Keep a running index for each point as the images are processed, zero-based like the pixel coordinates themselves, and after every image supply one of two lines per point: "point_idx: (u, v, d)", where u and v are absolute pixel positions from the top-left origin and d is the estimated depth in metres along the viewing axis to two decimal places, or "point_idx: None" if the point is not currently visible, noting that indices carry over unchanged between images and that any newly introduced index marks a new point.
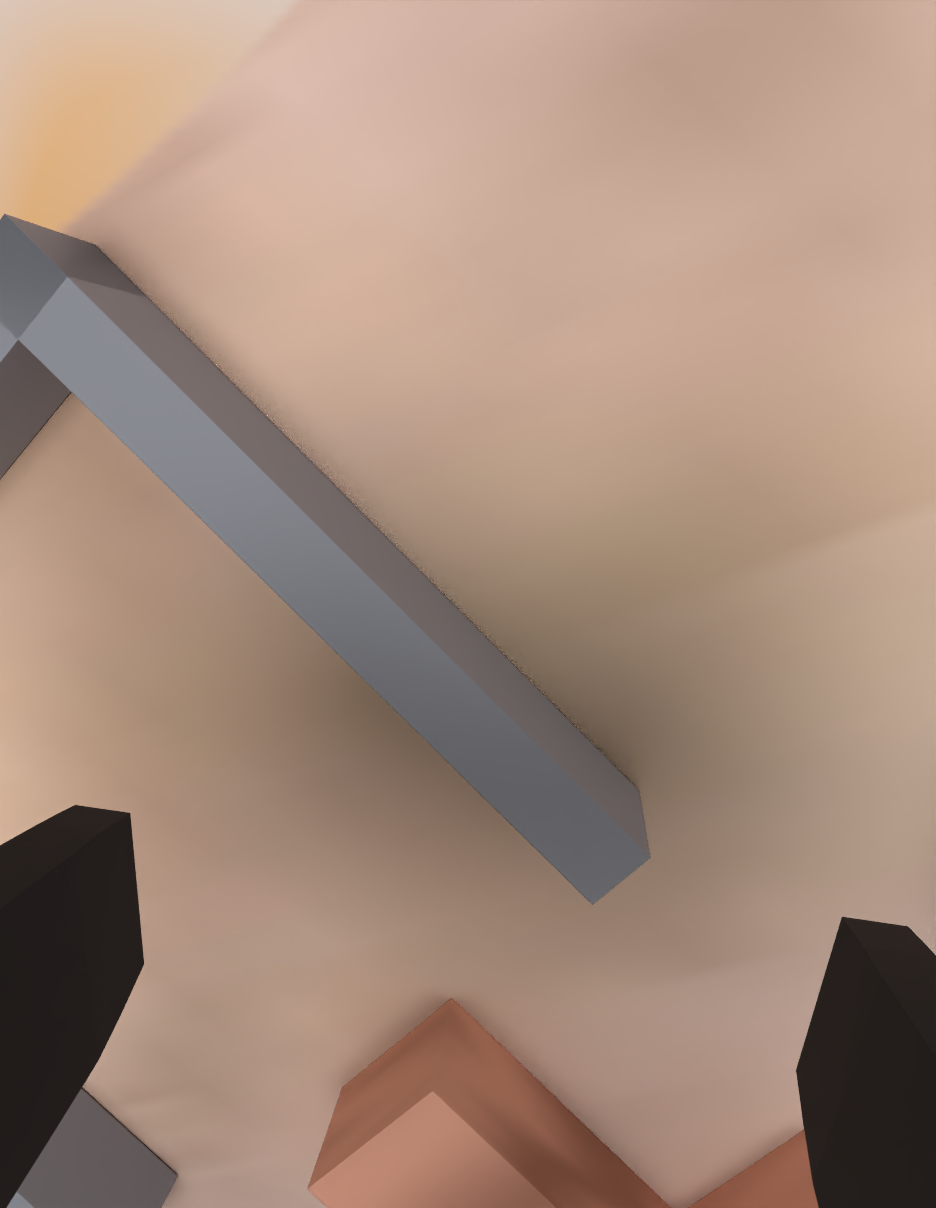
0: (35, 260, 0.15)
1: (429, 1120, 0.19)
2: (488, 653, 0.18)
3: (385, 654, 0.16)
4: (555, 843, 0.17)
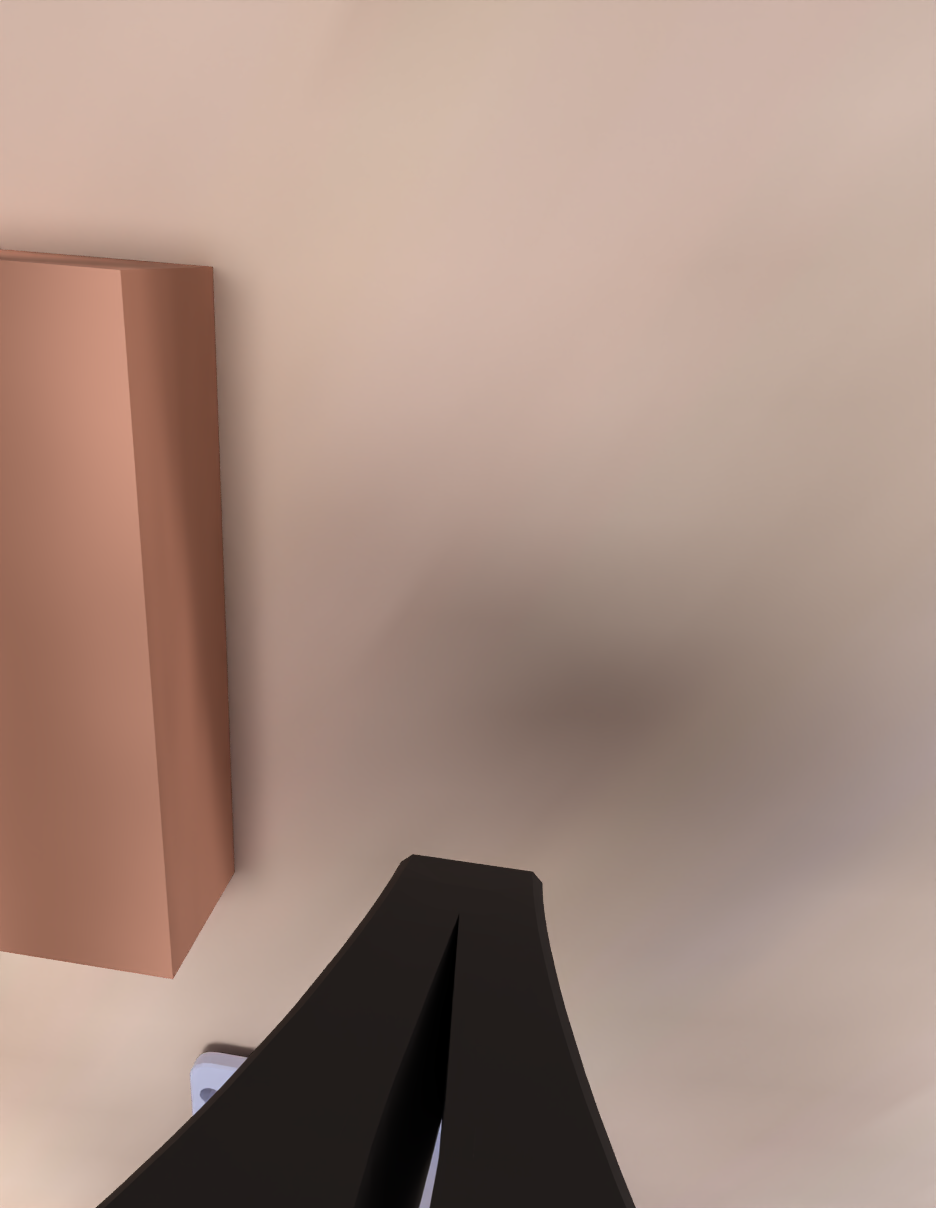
0: None
1: None
2: None
3: None
4: None
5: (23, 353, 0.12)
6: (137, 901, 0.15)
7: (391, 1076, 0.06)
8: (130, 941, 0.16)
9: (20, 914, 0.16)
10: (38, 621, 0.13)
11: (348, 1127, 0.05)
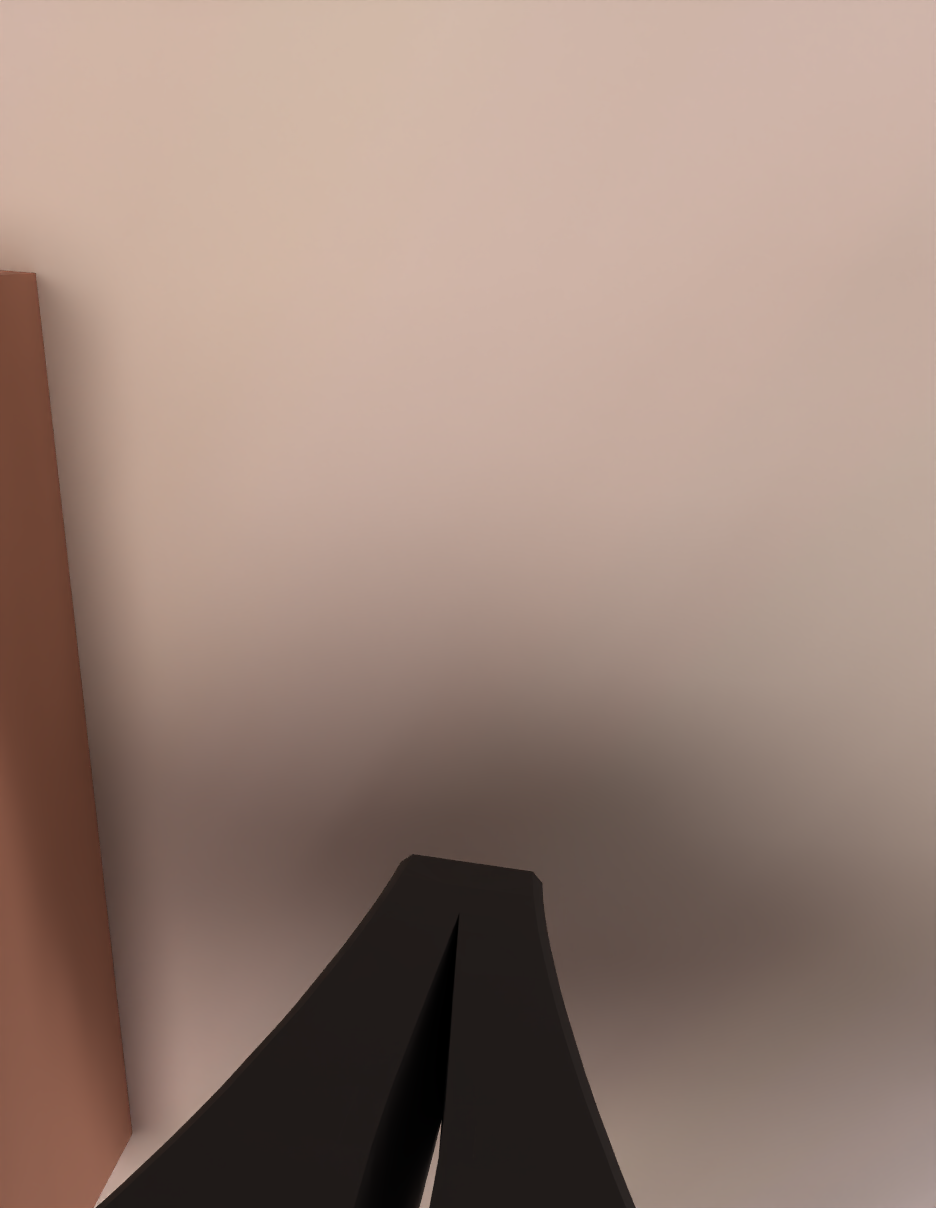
0: None
1: None
2: None
3: None
4: None
5: None
6: None
7: (391, 1076, 0.06)
8: None
9: None
10: None
11: (348, 1127, 0.05)
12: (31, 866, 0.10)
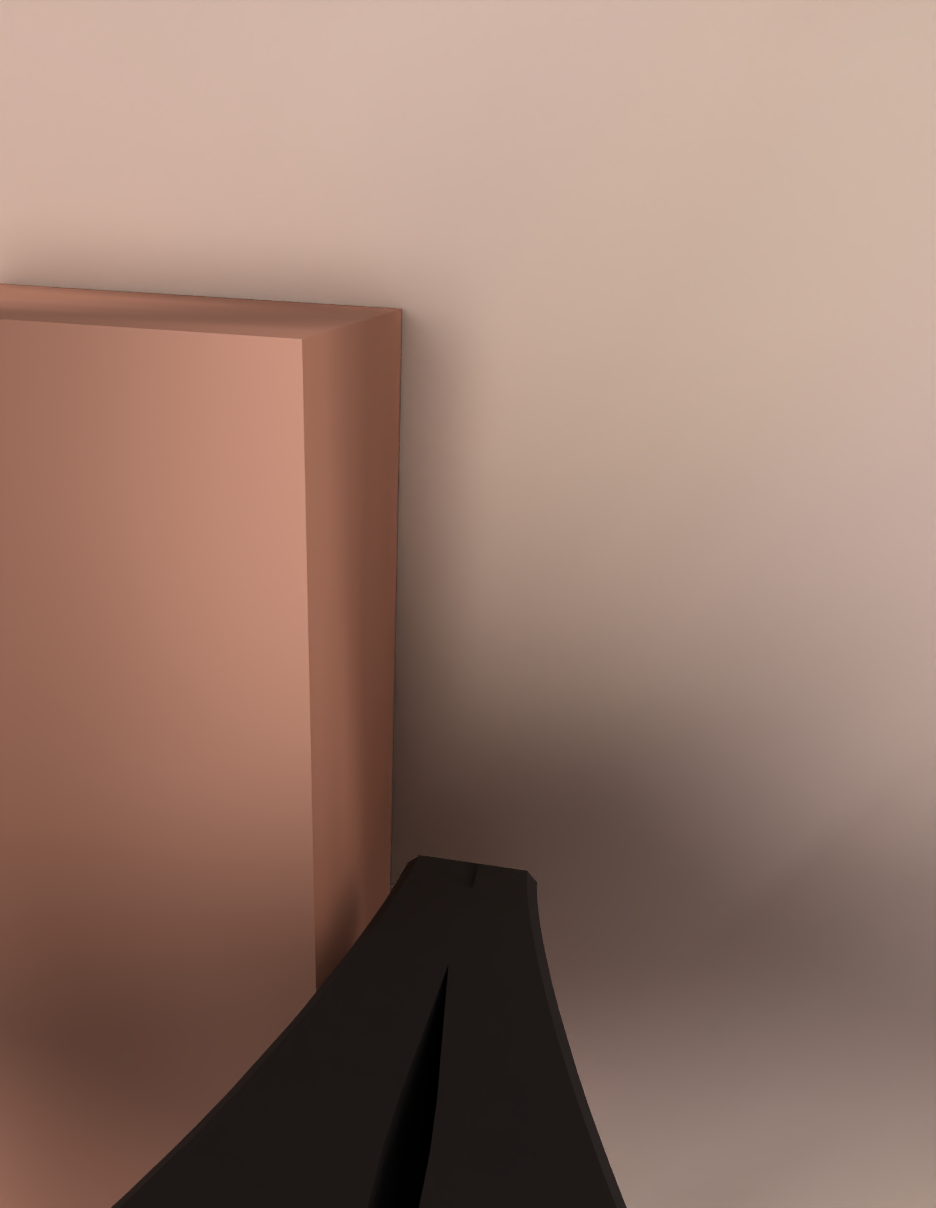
0: None
1: None
2: None
3: None
4: None
5: (93, 504, 0.06)
6: None
7: (401, 1078, 0.06)
8: None
9: None
10: (116, 955, 0.07)
11: (359, 1129, 0.05)
12: (363, 923, 0.09)
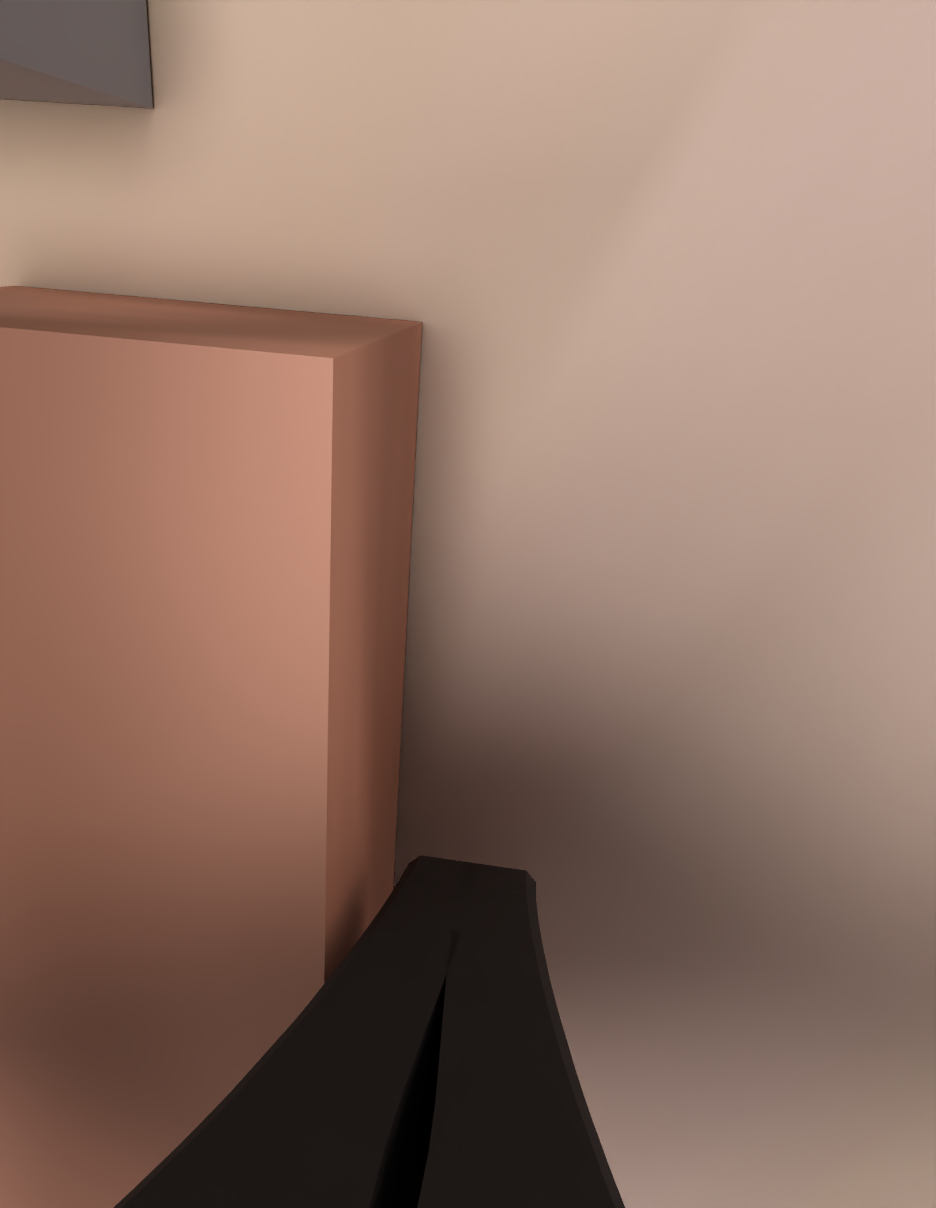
0: None
1: None
2: None
3: None
4: None
5: (119, 515, 0.06)
6: None
7: (403, 1078, 0.06)
8: None
9: None
10: (125, 960, 0.07)
11: (361, 1129, 0.05)
12: None
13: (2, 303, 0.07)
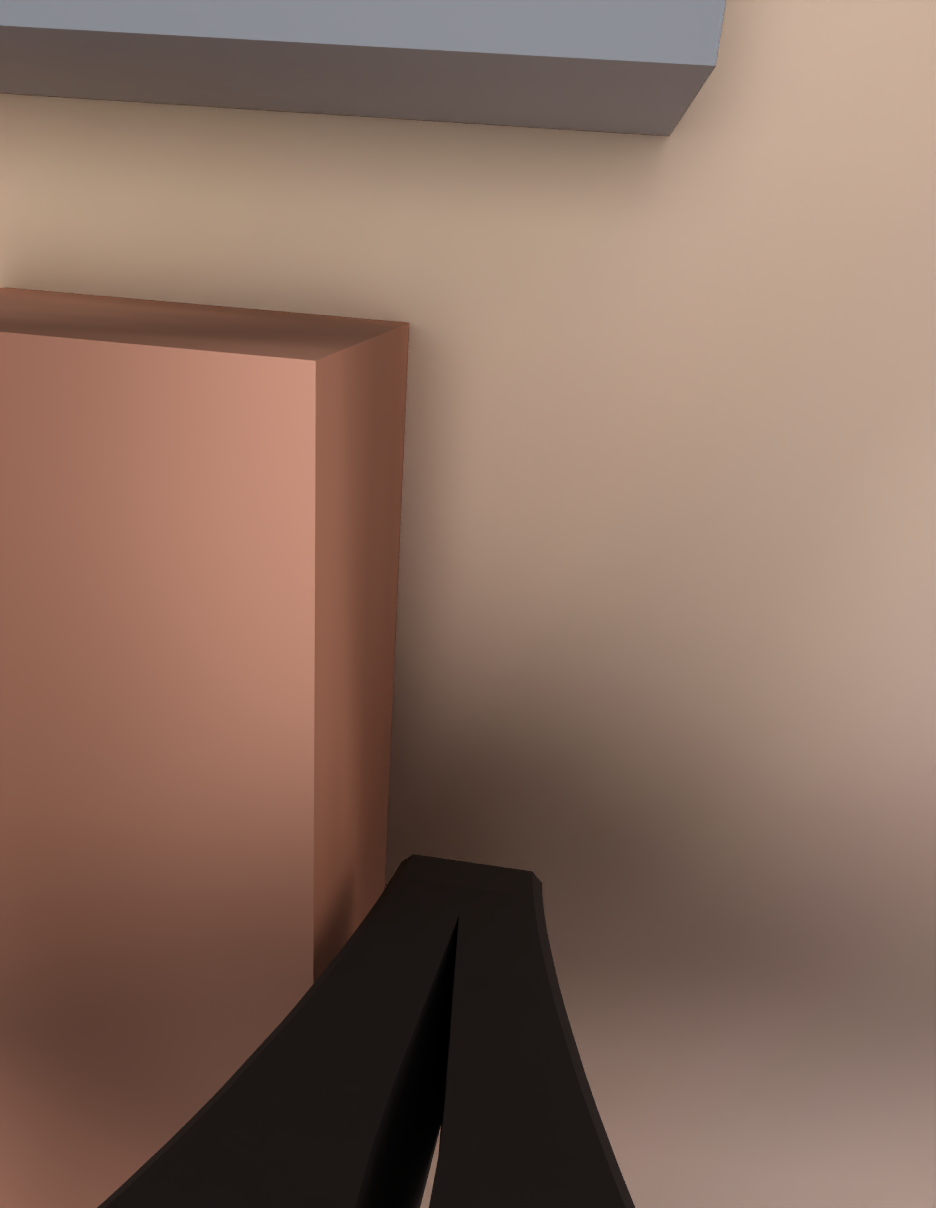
0: None
1: None
2: None
3: None
4: None
5: (104, 517, 0.06)
6: None
7: (391, 1077, 0.06)
8: None
9: None
10: (115, 957, 0.08)
11: (348, 1128, 0.05)
12: None
13: None
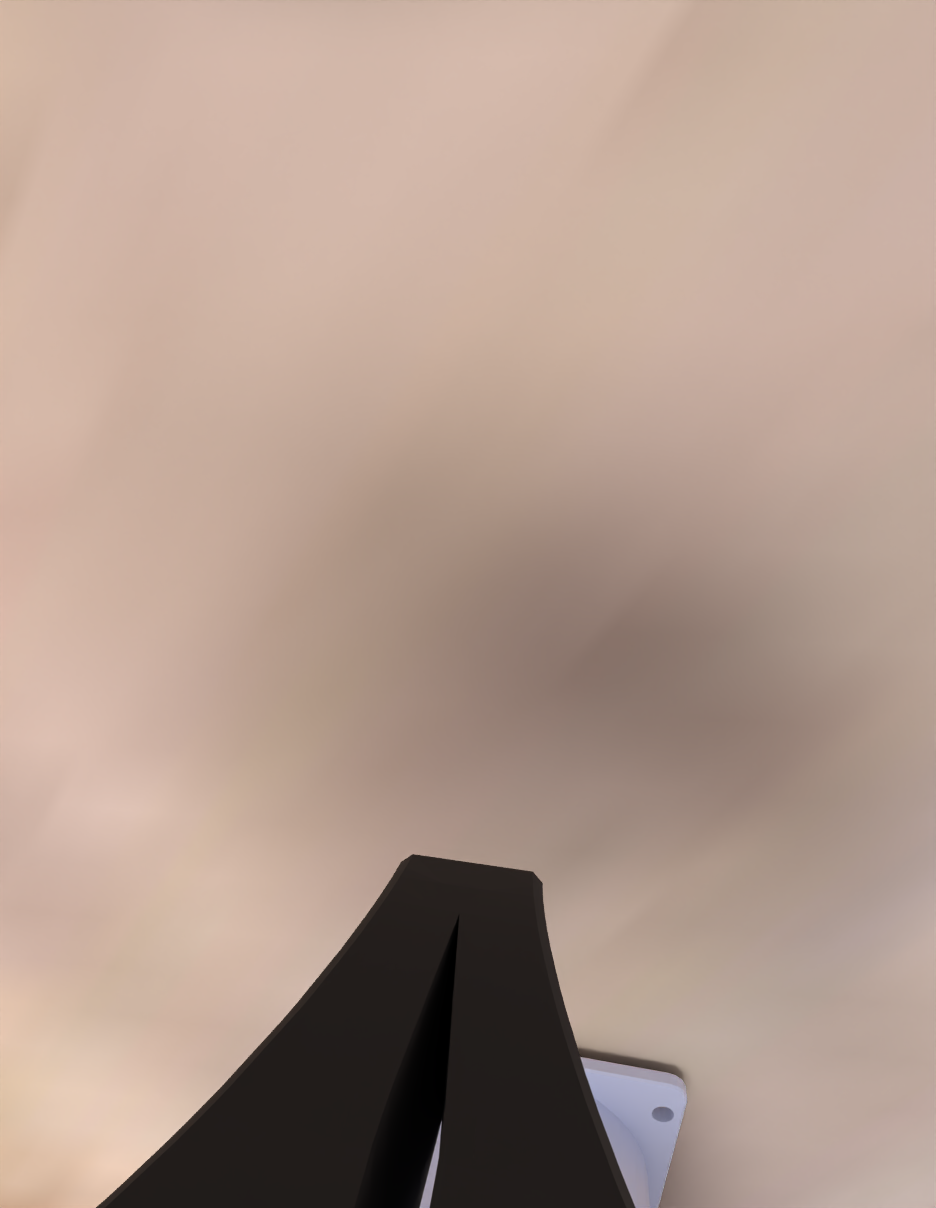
0: None
1: None
2: None
3: None
4: None
5: None
6: None
7: (391, 1076, 0.06)
8: None
9: None
10: None
11: (348, 1127, 0.05)
12: None
13: None
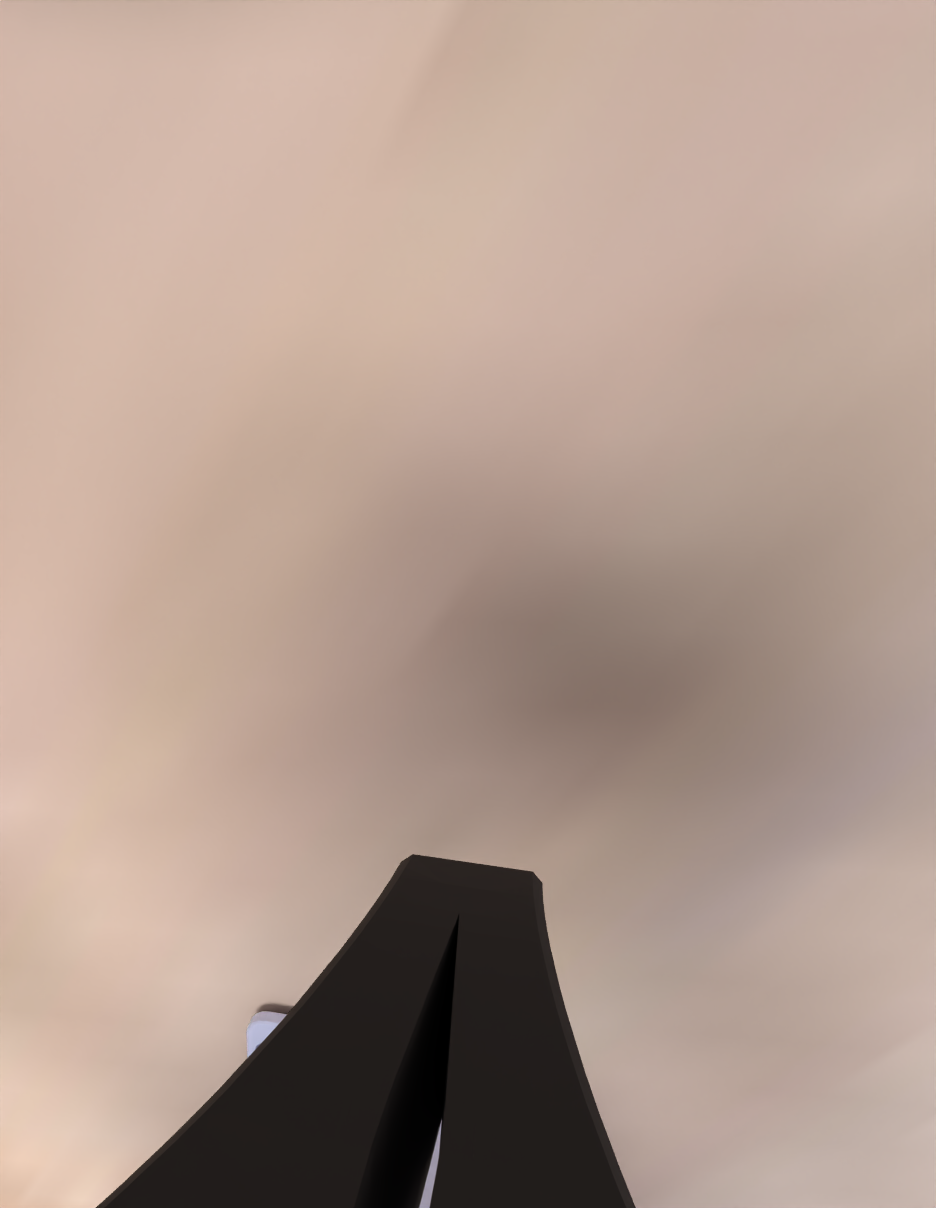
0: None
1: None
2: None
3: None
4: None
5: None
6: None
7: (391, 1076, 0.06)
8: None
9: None
10: None
11: (348, 1127, 0.05)
12: None
13: None
